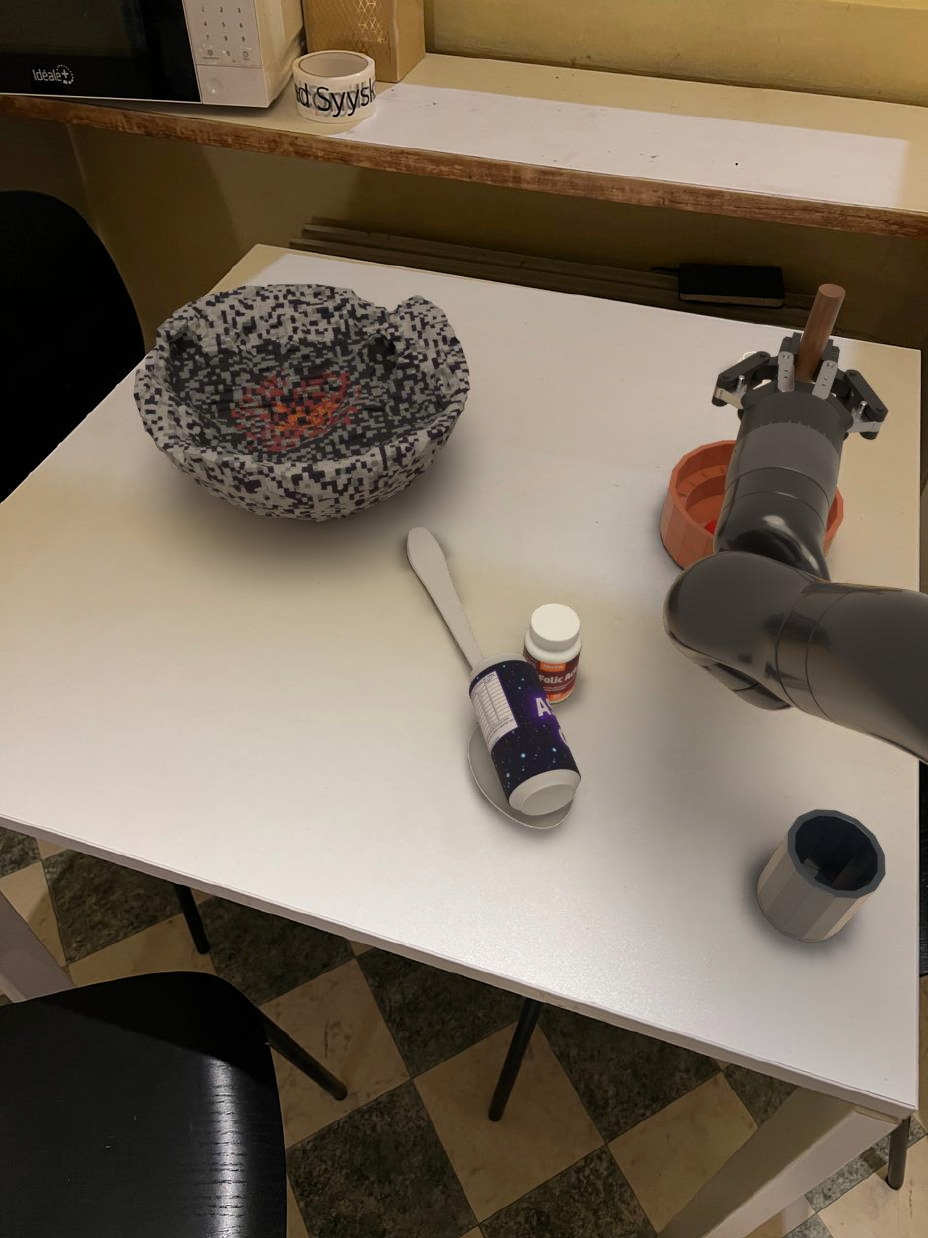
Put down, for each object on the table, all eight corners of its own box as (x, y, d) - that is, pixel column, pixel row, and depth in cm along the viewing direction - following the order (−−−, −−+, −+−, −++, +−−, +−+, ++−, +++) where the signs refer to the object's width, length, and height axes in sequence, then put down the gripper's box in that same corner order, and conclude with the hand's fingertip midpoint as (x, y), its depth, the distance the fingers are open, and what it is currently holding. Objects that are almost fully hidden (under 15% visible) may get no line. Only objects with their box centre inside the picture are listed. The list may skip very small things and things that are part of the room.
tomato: (733, 514, 83) (719, 535, 82) (743, 536, 85) (728, 558, 84) (706, 512, 85) (692, 533, 84) (716, 534, 87) (702, 555, 86)
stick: (778, 484, 82) (852, 286, 67) (777, 497, 81) (852, 299, 65) (746, 478, 83) (812, 280, 67) (745, 491, 81) (811, 293, 66)
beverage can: (573, 768, 59) (518, 638, 67) (499, 803, 60) (453, 670, 68) (594, 797, 64) (540, 672, 71) (525, 829, 64) (479, 702, 72)
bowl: (173, 608, 81) (125, 486, 69) (175, 409, 101) (138, 289, 89) (497, 559, 85) (503, 436, 74) (438, 377, 105) (435, 258, 93)
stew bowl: (824, 500, 91) (843, 455, 86) (822, 613, 81) (843, 569, 76) (669, 472, 93) (680, 427, 89) (648, 578, 83) (659, 533, 79)
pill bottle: (536, 713, 73) (543, 652, 67) (511, 672, 76) (515, 610, 70) (584, 693, 75) (596, 632, 68) (558, 654, 77) (566, 592, 71)
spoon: (597, 827, 66) (601, 810, 64) (500, 858, 65) (502, 840, 63) (454, 538, 89) (453, 518, 87) (379, 554, 87) (377, 534, 85)
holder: (844, 871, 64) (884, 821, 58) (844, 954, 60) (887, 910, 54) (759, 849, 65) (789, 798, 59) (753, 930, 61) (785, 884, 55)
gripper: (903, 449, 58) (913, 320, 69) (699, 404, 61) (739, 288, 72) (863, 529, 64) (878, 399, 74) (679, 485, 67) (718, 366, 78)
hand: (809, 345), depth 73 cm, fingers closed on stick, 2 cm apart
